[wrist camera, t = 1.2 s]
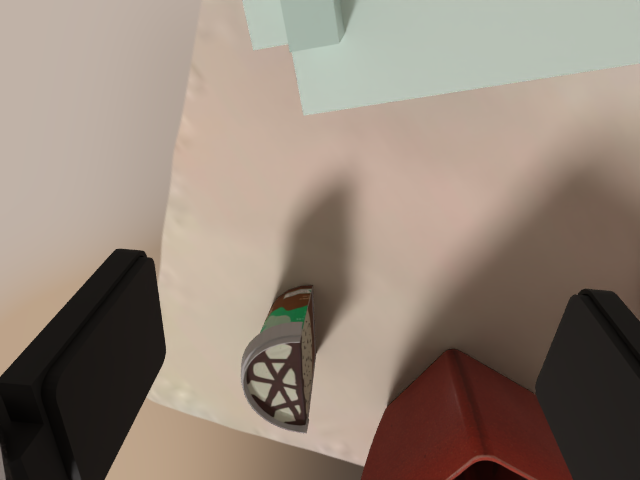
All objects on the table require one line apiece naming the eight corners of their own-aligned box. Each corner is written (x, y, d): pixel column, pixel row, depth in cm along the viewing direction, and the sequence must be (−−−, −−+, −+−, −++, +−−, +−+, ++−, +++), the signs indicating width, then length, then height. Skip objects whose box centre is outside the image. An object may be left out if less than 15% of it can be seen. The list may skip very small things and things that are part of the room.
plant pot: (583, 392, 51) (671, 553, 36) (469, 476, 60) (502, 635, 45) (448, 310, 48) (483, 452, 33) (346, 412, 56) (339, 562, 41)
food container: (253, 271, 48) (227, 334, 39) (312, 273, 47) (299, 336, 38) (264, 361, 53) (244, 433, 45) (316, 363, 53) (306, 437, 44)
